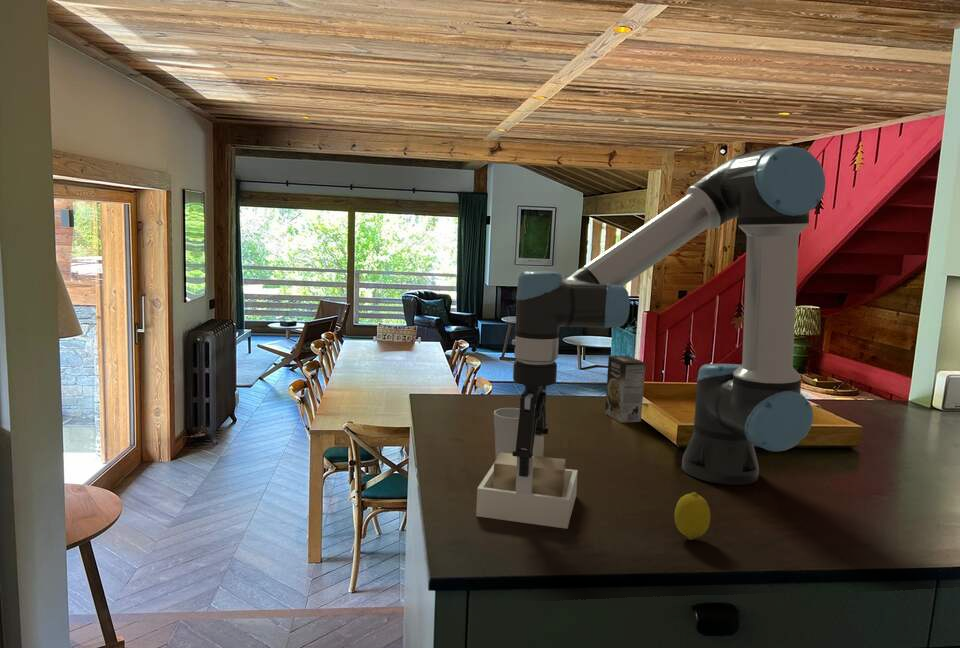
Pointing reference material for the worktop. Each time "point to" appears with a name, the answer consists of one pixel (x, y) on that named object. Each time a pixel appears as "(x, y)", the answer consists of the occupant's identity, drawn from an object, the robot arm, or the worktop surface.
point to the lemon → (692, 515)
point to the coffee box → (625, 388)
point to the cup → (506, 430)
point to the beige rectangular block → (544, 474)
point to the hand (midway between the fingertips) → (529, 480)
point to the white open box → (527, 503)
